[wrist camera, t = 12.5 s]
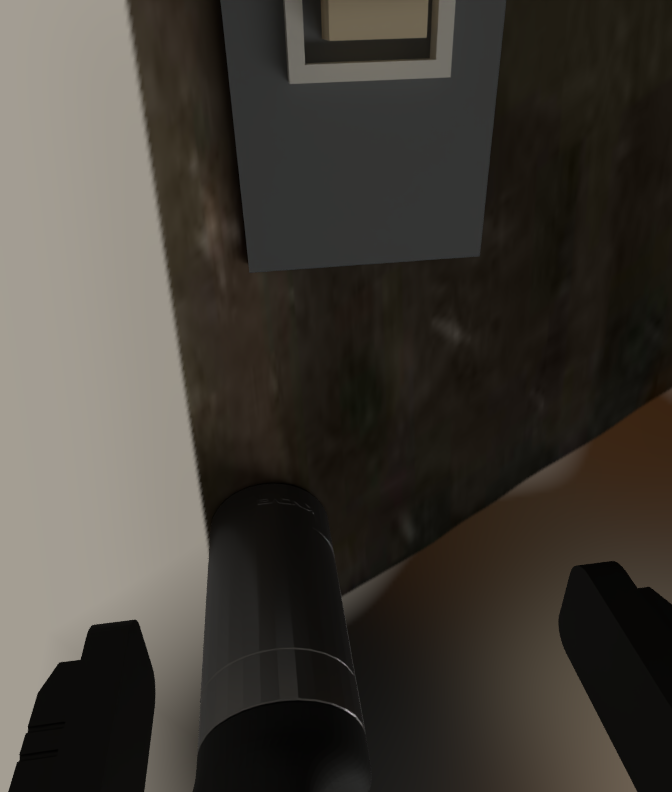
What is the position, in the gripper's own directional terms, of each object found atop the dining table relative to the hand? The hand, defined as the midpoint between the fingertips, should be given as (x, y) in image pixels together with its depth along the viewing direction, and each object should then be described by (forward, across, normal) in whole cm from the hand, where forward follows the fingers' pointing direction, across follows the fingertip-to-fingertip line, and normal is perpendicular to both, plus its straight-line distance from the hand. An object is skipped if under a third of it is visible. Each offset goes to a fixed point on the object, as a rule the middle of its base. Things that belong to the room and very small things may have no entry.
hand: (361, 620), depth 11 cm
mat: (+28, -5, -8) cm, 30 cm away
